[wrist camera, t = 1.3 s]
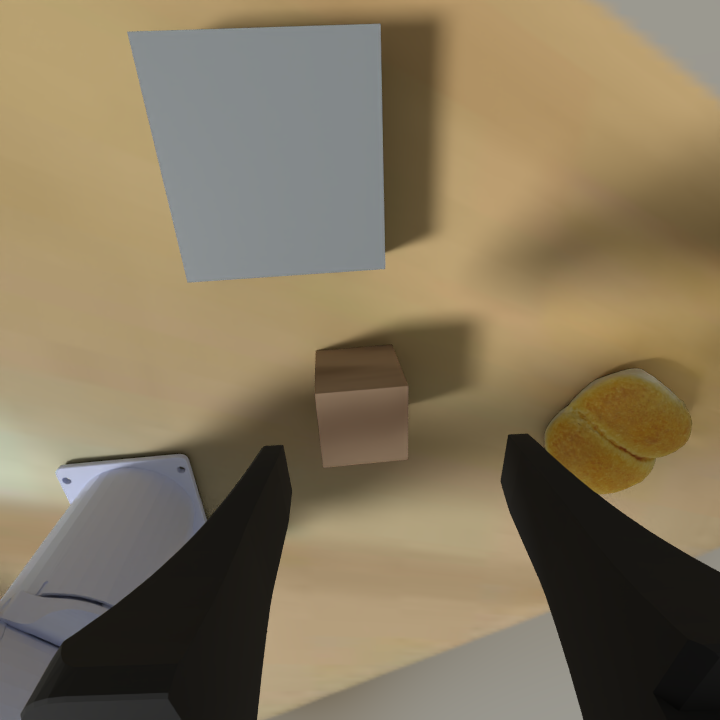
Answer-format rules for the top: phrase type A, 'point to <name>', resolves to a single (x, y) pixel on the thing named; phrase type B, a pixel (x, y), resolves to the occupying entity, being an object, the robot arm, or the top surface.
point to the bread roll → (618, 430)
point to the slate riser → (268, 146)
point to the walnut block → (361, 406)
